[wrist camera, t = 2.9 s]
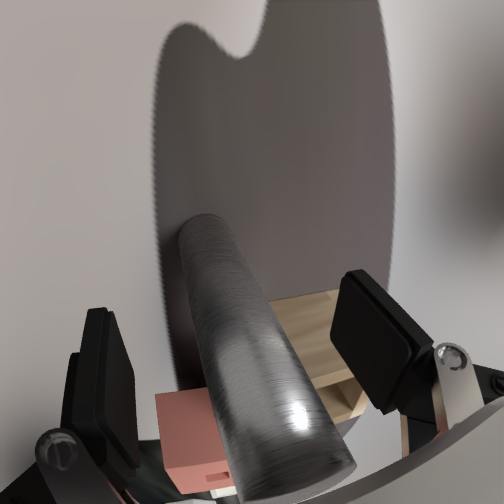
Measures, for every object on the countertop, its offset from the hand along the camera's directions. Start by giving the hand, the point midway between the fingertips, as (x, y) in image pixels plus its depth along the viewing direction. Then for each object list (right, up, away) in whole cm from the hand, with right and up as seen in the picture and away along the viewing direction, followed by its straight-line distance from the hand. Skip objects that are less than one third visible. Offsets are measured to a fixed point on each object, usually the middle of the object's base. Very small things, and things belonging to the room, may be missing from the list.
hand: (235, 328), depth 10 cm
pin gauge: (-2, +3, +5) cm, 6 cm away
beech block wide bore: (+3, -3, +10) cm, 11 cm away
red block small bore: (-3, -10, +12) cm, 16 cm away
